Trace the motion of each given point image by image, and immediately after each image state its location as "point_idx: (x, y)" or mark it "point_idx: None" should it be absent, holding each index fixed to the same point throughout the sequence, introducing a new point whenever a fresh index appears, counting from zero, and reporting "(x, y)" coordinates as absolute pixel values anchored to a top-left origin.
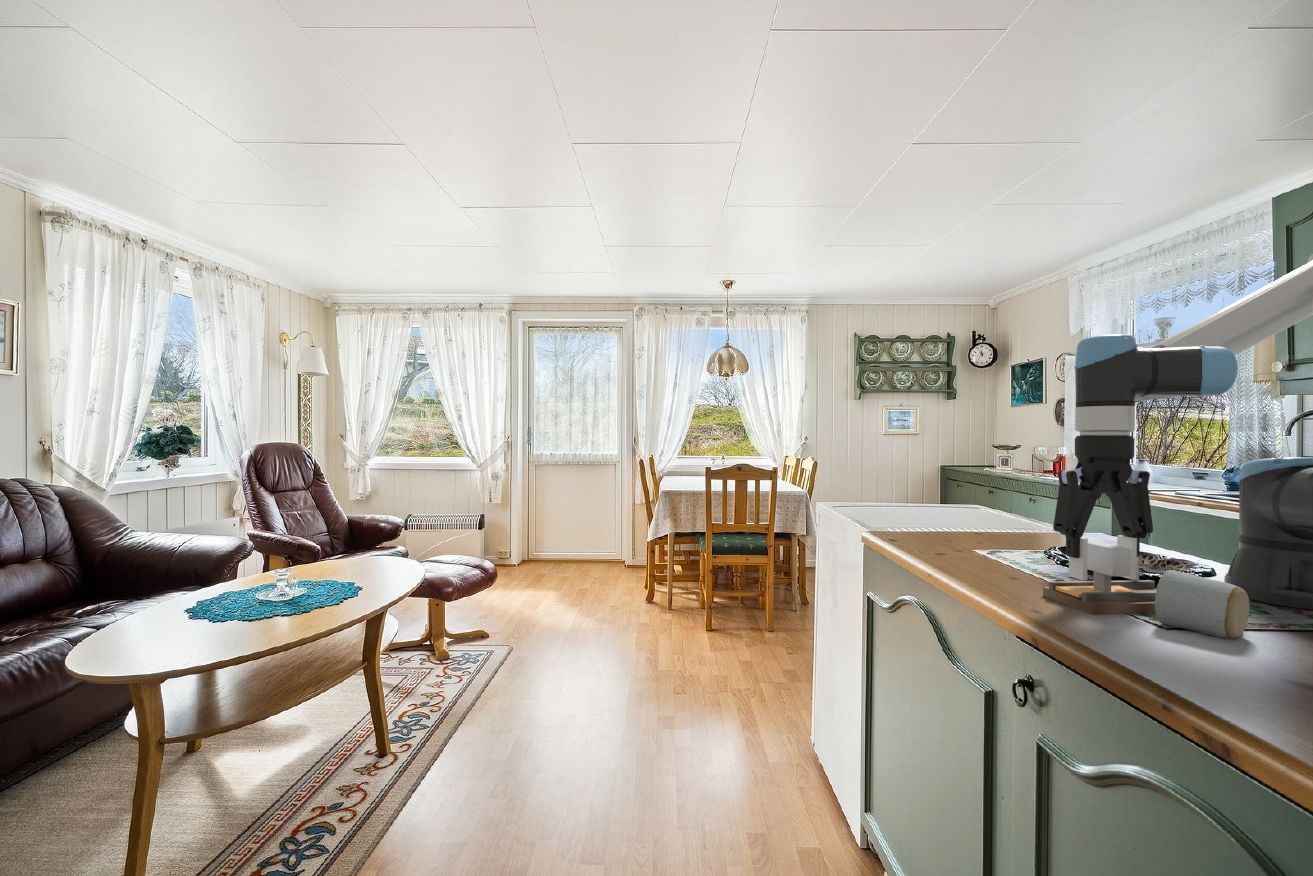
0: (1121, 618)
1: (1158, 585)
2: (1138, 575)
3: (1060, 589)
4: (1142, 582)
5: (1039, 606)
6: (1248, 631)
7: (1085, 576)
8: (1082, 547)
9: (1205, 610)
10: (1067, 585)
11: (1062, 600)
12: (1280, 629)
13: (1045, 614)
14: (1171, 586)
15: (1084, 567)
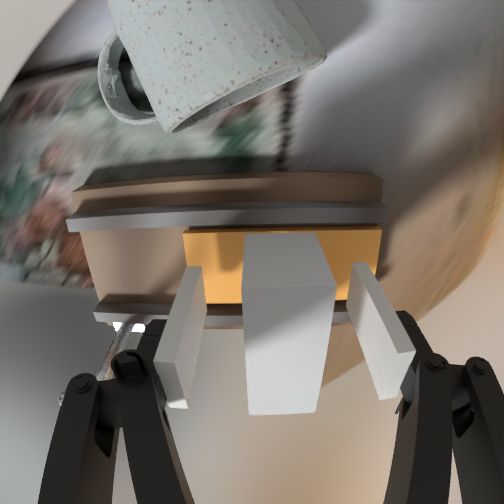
0: (330, 138)
1: (322, 54)
2: (117, 333)
3: None
4: (122, 312)
5: (430, 240)
6: None
7: (361, 268)
8: (402, 329)
9: None
10: None
11: None
12: (37, 78)
13: (463, 187)
14: (301, 24)
15: (373, 283)
